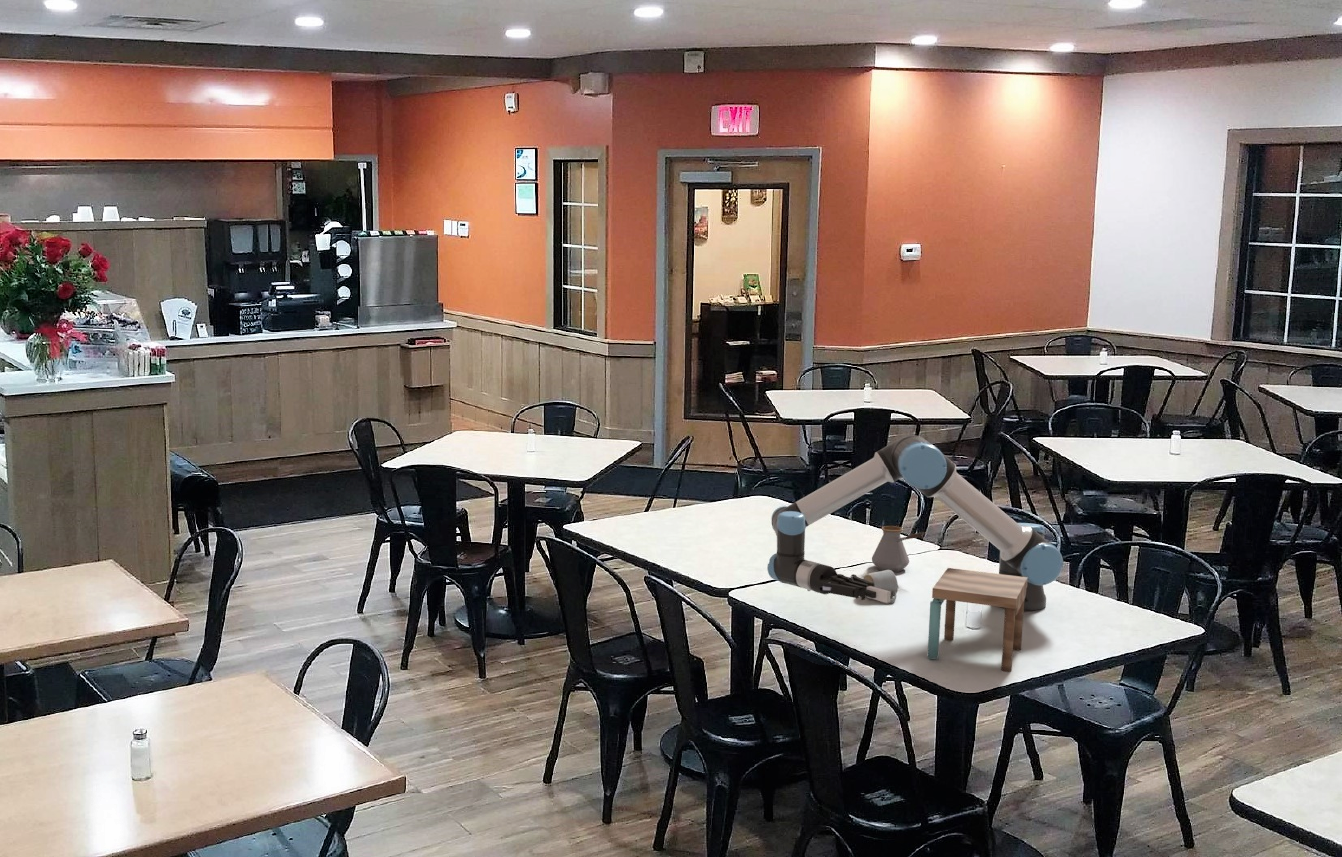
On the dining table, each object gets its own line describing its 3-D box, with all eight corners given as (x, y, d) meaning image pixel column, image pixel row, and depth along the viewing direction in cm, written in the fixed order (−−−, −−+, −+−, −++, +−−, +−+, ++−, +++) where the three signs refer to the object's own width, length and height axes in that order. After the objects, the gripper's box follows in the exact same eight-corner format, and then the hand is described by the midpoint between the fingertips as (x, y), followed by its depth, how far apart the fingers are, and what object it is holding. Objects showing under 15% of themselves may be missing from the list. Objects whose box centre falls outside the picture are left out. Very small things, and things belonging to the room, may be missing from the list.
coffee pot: (863, 566, 402) (865, 519, 400) (892, 562, 408) (894, 515, 406) (908, 584, 384) (911, 535, 382) (938, 579, 390) (940, 530, 387)
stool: (944, 636, 337) (947, 567, 334) (1022, 647, 330) (1027, 577, 326) (928, 660, 319) (932, 588, 316) (1011, 672, 311) (1016, 598, 308)
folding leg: (938, 638, 334) (941, 582, 331) (948, 640, 333) (951, 583, 330) (926, 658, 319) (929, 599, 317) (937, 659, 318) (940, 600, 316)
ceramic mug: (859, 594, 373) (861, 569, 371) (884, 592, 376) (886, 566, 374) (878, 606, 363) (879, 579, 362) (903, 603, 366) (905, 577, 364)
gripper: (833, 586, 348) (904, 606, 331) (800, 596, 339) (871, 616, 322) (833, 559, 347) (905, 577, 330) (801, 568, 338) (872, 587, 321)
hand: (888, 597), depth 326 cm, fingers closed
